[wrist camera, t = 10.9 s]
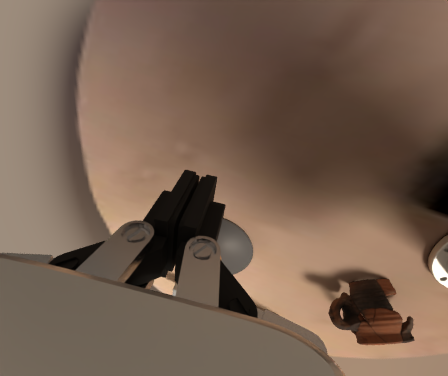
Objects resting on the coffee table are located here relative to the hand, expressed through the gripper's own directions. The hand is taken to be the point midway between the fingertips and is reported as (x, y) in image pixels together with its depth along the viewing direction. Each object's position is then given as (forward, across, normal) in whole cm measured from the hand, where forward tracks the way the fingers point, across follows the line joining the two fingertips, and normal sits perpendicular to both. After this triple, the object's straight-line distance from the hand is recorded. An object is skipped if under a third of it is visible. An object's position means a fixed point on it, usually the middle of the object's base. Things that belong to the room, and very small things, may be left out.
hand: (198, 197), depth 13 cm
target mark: (+17, 0, +22) cm, 28 cm away
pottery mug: (+18, -25, +25) cm, 39 cm away
